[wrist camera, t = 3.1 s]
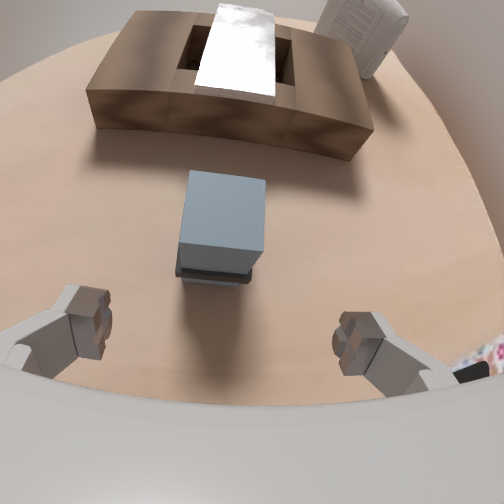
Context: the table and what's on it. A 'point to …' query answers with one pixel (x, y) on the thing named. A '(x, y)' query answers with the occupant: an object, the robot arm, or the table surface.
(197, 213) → the blue-gray rectangular block
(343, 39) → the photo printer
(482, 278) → the table surface
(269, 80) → the white rectangular bar
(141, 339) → the table surface
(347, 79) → the brown tissue box
